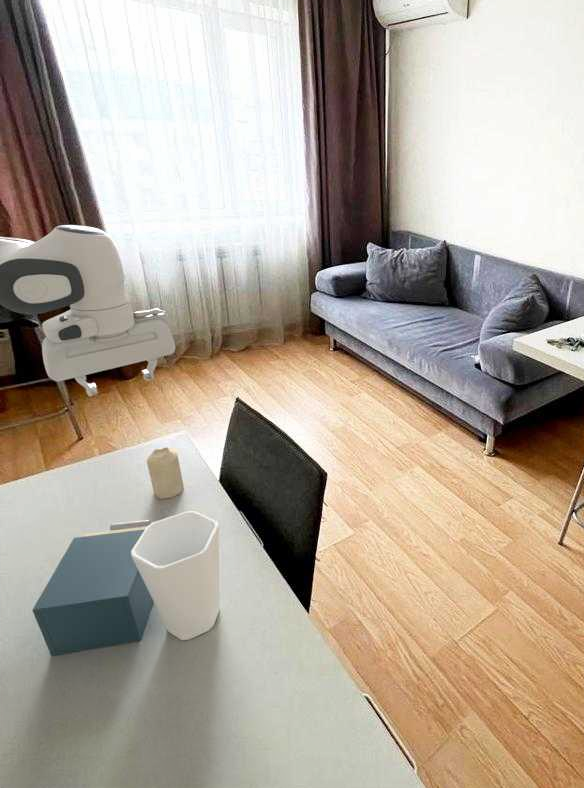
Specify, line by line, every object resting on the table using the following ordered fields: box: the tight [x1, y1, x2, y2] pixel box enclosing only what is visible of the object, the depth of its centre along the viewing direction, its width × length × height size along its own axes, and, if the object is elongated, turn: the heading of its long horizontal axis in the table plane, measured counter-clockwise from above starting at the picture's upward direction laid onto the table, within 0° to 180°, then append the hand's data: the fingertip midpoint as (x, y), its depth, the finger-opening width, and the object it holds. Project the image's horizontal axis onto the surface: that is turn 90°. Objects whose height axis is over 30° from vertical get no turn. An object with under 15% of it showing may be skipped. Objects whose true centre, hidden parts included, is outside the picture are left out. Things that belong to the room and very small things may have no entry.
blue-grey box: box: [32, 529, 155, 657], centre depth 77 cm, size 14×12×10 cm
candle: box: [146, 446, 185, 500], centre depth 102 cm, size 6×6×10 cm
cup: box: [131, 510, 221, 641], centre depth 74 cm, size 11×10×17 cm
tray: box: [82, 519, 152, 537], centre depth 81 cm, size 17×10×8 cm, turn 14°
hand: (122, 386), depth 94 cm, fingers open, 8 cm apart
